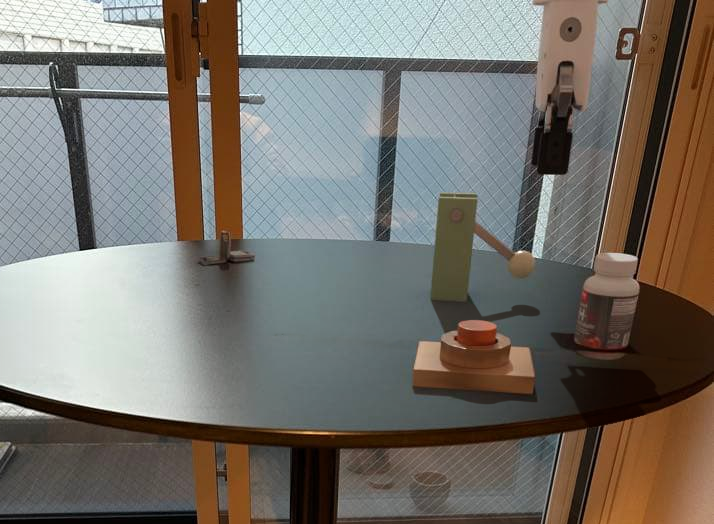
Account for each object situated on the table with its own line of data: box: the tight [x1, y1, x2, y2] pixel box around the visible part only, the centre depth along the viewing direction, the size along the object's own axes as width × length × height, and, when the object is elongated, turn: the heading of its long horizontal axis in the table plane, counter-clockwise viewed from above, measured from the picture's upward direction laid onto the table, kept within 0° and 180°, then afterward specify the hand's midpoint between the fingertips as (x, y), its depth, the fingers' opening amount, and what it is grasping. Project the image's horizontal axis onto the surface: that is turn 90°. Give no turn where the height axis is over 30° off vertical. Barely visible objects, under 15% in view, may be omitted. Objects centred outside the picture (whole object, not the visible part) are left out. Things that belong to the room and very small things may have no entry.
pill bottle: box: [573, 252, 641, 361], centre depth 82 cm, size 5×5×10 cm
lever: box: [453, 195, 536, 280], centre depth 96 cm, size 13×3×3 cm
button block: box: [411, 329, 536, 395], centre depth 77 cm, size 11×9×4 cm
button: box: [456, 319, 498, 346], centre depth 76 cm, size 4×4×2 cm
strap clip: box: [197, 230, 256, 265], centre depth 121 cm, size 8×3×4 cm, turn 118°
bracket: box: [429, 191, 479, 303], centre depth 97 cm, size 12×9×13 cm
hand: (548, 169), depth 91 cm, fingers open, 9 cm apart
